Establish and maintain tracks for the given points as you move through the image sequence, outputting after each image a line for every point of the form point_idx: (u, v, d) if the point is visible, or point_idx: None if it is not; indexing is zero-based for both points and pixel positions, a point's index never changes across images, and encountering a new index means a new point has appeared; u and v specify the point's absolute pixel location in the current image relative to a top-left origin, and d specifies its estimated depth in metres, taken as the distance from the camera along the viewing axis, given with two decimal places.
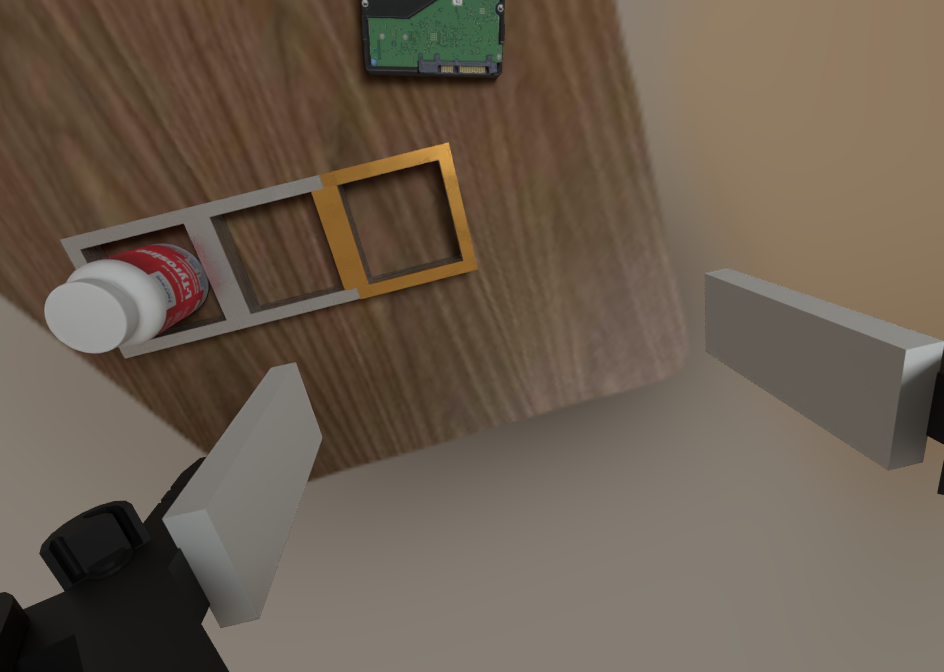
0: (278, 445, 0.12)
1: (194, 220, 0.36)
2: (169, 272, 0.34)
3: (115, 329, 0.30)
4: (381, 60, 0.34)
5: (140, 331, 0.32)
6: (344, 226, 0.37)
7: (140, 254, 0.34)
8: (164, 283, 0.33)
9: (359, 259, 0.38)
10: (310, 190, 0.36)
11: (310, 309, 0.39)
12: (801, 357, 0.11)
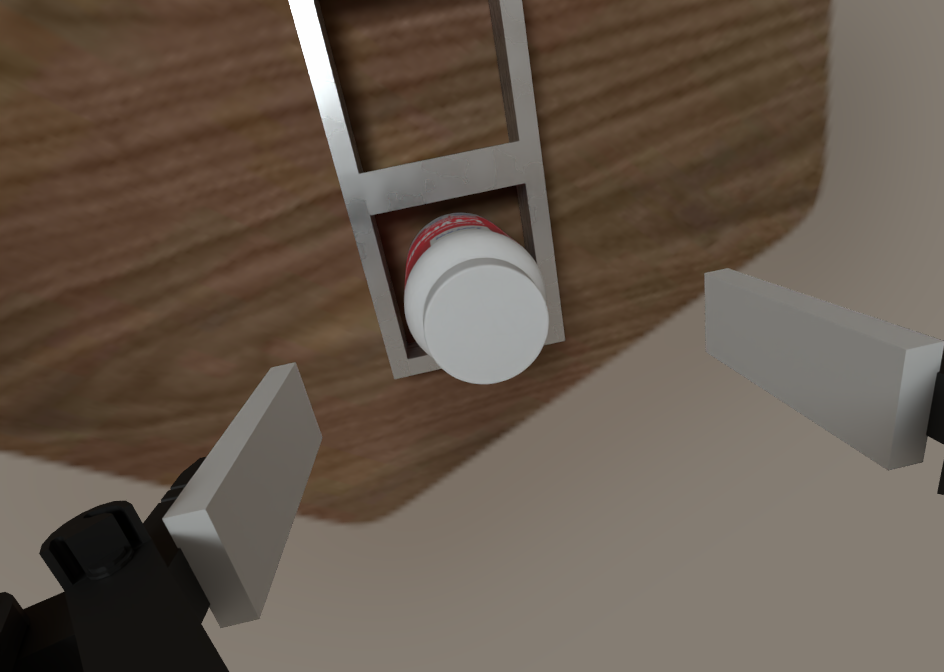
0: (278, 445, 0.12)
1: (364, 198, 0.23)
2: (436, 232, 0.21)
3: (509, 285, 0.17)
4: None
5: (521, 269, 0.19)
6: None
7: (407, 269, 0.22)
8: (449, 231, 0.20)
9: None
10: None
11: (522, 26, 0.22)
12: (801, 357, 0.11)
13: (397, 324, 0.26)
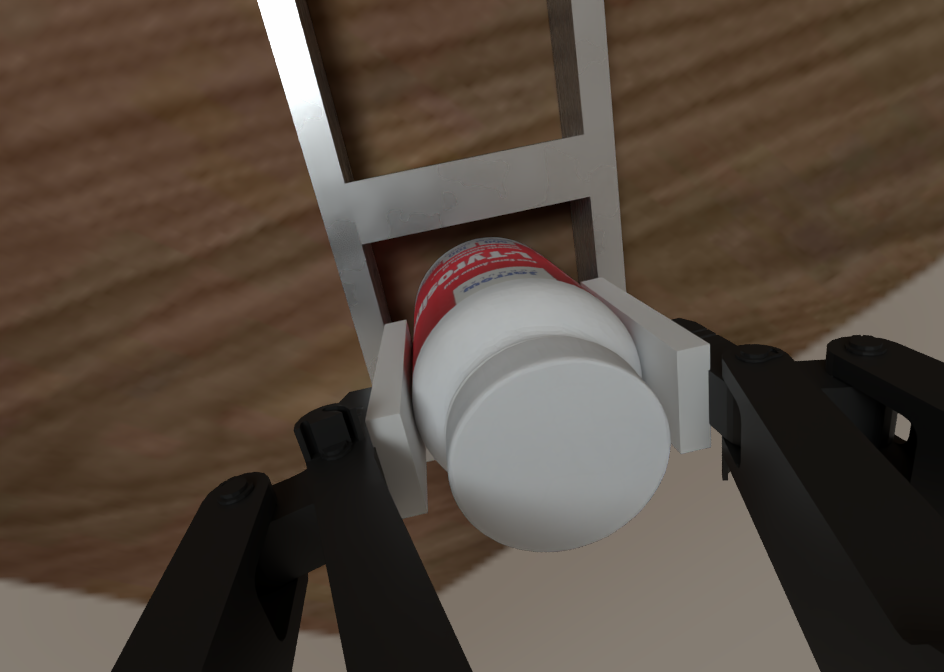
0: None
1: (354, 219, 0.16)
2: (462, 275, 0.14)
3: (607, 394, 0.09)
4: None
5: (610, 346, 0.11)
6: None
7: (416, 330, 0.15)
8: (485, 278, 0.13)
9: None
10: None
11: None
12: None
13: None
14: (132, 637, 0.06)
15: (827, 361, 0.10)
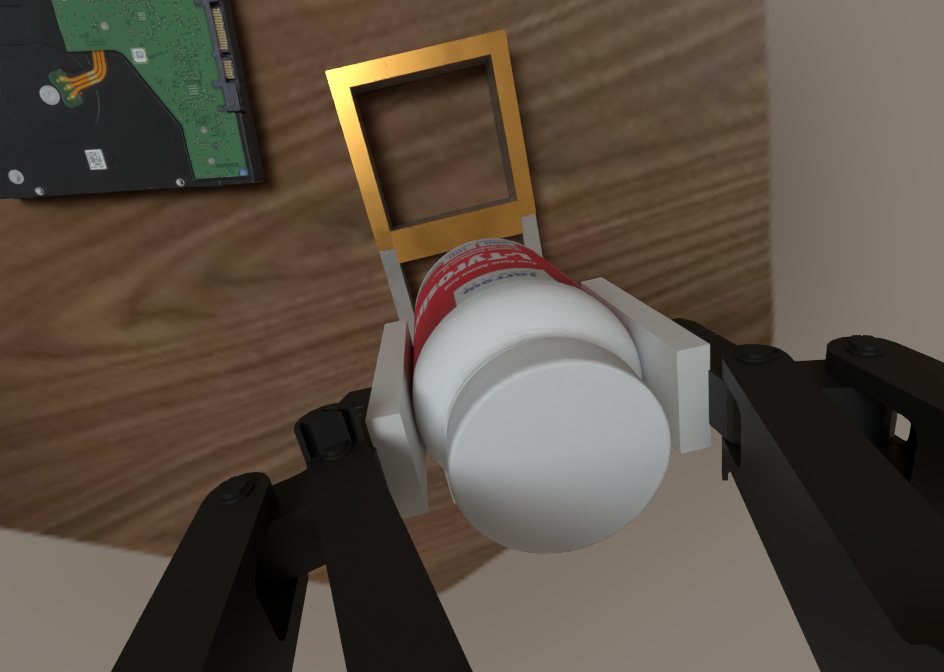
0: None
1: None
2: (462, 277, 0.14)
3: (607, 396, 0.09)
4: (238, 162, 0.27)
5: (610, 348, 0.11)
6: (440, 226, 0.29)
7: (417, 331, 0.15)
8: (485, 279, 0.13)
9: (483, 210, 0.29)
10: (398, 264, 0.30)
11: None
12: None
13: None
14: (133, 637, 0.06)
15: (827, 361, 0.10)
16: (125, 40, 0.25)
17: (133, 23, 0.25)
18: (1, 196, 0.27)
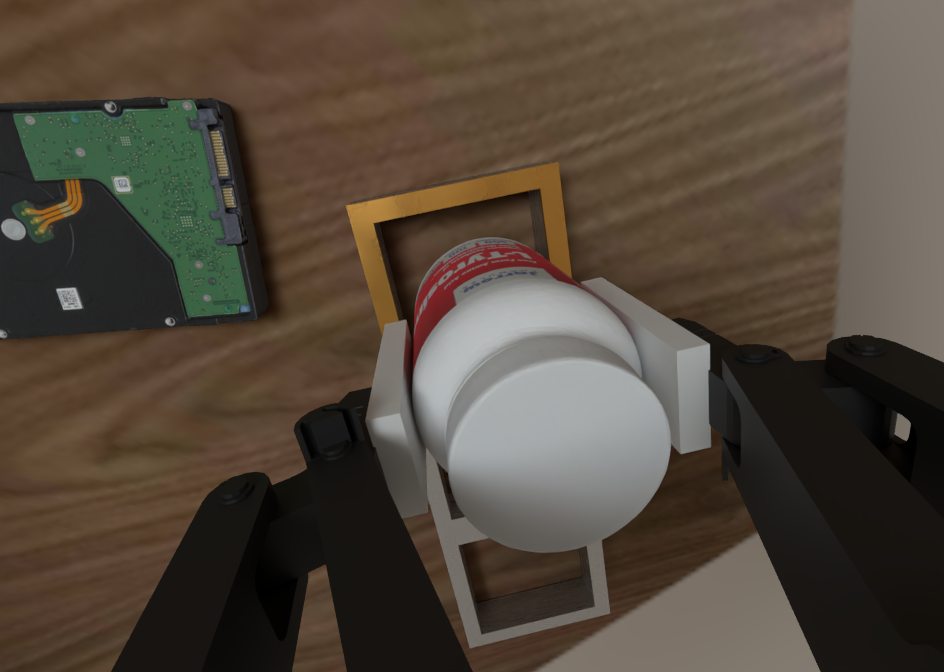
0: None
1: (455, 534, 0.29)
2: (462, 275, 0.14)
3: (607, 395, 0.09)
4: (239, 298, 0.23)
5: (610, 346, 0.11)
6: None
7: (416, 330, 0.14)
8: (485, 278, 0.13)
9: None
10: None
11: None
12: None
13: (474, 612, 0.31)
14: (132, 637, 0.06)
15: (827, 361, 0.10)
16: (105, 167, 0.21)
17: (115, 149, 0.20)
18: None
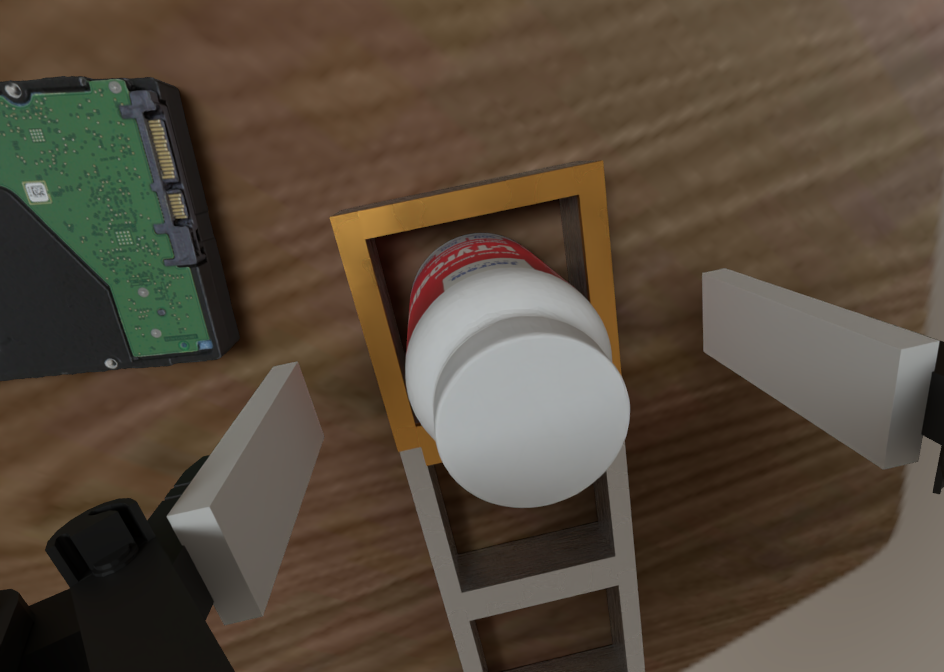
0: (281, 444, 0.12)
1: (465, 609, 0.24)
2: (451, 266, 0.15)
3: (572, 366, 0.11)
4: (197, 333, 0.18)
5: (581, 327, 0.13)
6: None
7: (410, 317, 0.16)
8: (470, 268, 0.14)
9: None
10: (424, 463, 0.21)
11: (625, 476, 0.22)
12: (797, 357, 0.11)
13: None
14: None
15: None
16: (13, 170, 0.16)
17: (24, 146, 0.16)
18: None
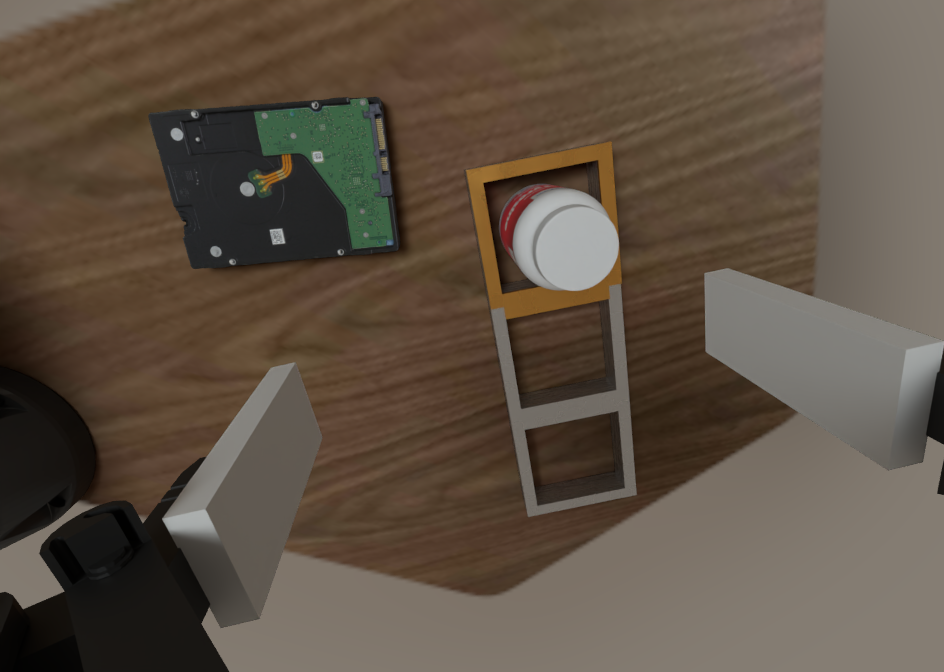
0: (278, 445, 0.12)
1: (522, 421, 0.39)
2: (533, 193, 0.30)
3: (594, 221, 0.26)
4: (387, 235, 0.34)
5: None
6: (543, 291, 0.35)
7: (509, 220, 0.31)
8: (545, 190, 0.29)
9: None
10: (504, 319, 0.36)
11: (622, 334, 0.37)
12: (801, 357, 0.11)
13: (533, 486, 0.42)
14: None
15: None
16: (308, 145, 0.31)
17: (315, 133, 0.31)
18: (203, 266, 0.33)
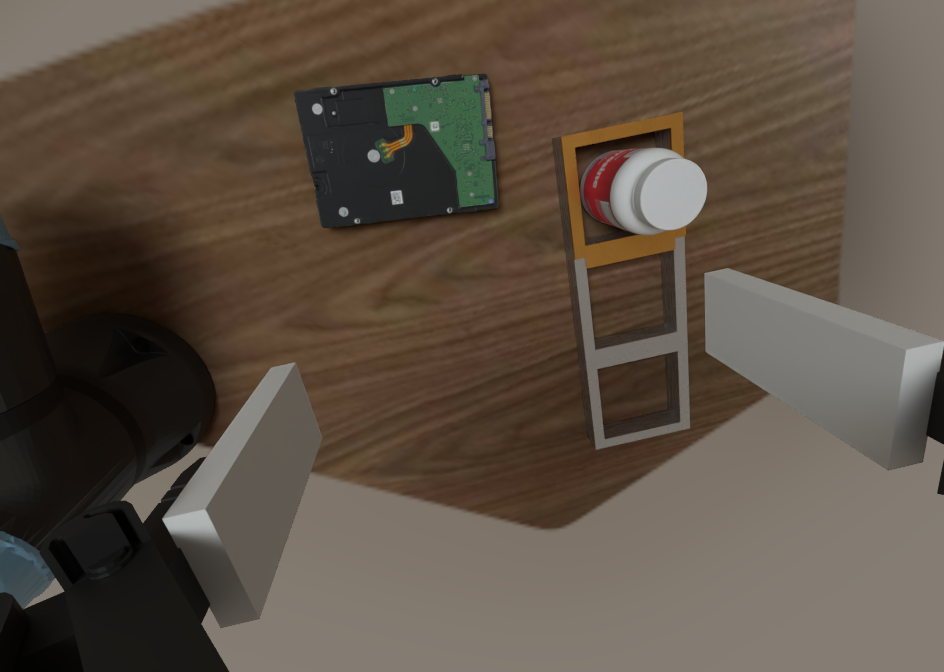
0: (278, 445, 0.12)
1: (596, 361, 0.45)
2: (622, 154, 0.36)
3: (689, 170, 0.31)
4: (489, 194, 0.39)
5: None
6: (620, 243, 0.41)
7: (601, 178, 0.37)
8: (636, 150, 0.35)
9: None
10: (585, 268, 0.42)
11: (684, 281, 0.43)
12: (801, 357, 0.11)
13: (602, 421, 0.47)
14: None
15: None
16: (427, 116, 0.37)
17: (433, 105, 0.36)
18: (332, 225, 0.39)
